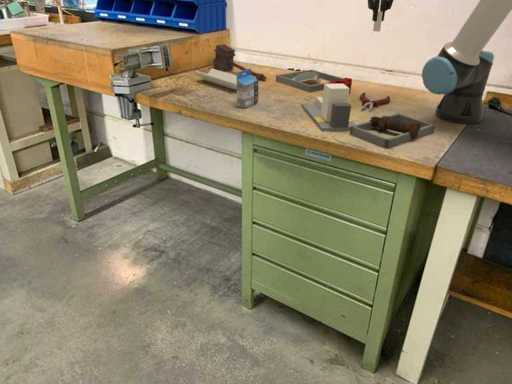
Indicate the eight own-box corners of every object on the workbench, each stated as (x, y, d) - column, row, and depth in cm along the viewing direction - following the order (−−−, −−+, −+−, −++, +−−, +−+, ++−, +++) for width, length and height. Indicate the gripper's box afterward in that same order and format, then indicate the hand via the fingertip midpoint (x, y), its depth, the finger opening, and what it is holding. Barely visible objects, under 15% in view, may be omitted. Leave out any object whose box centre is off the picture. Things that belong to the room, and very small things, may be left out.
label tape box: (245, 108, 148) (246, 74, 142) (235, 106, 150) (236, 72, 144) (258, 103, 155) (259, 69, 149) (249, 101, 157) (250, 67, 151)
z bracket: (211, 88, 187) (219, 76, 188) (249, 101, 172) (257, 88, 172) (195, 71, 178) (203, 59, 179) (234, 83, 162) (242, 70, 163)
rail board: (301, 106, 153) (303, 84, 149) (332, 105, 155) (335, 84, 151) (321, 131, 131) (324, 106, 127) (358, 130, 132) (362, 105, 129)
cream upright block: (320, 115, 140) (324, 83, 135) (338, 115, 141) (343, 83, 136) (326, 121, 135) (329, 88, 130) (344, 121, 136) (349, 88, 131)
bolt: (370, 131, 136) (415, 141, 128) (365, 127, 132) (411, 137, 124) (376, 114, 136) (422, 123, 127) (371, 109, 132) (418, 119, 123)
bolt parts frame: (433, 132, 133) (435, 124, 132) (386, 148, 120) (388, 140, 118) (396, 120, 142) (397, 113, 141) (349, 133, 129) (350, 126, 128)
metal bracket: (320, 67, 187) (316, 74, 174) (322, 80, 189) (319, 88, 176) (289, 73, 191) (283, 81, 178) (292, 86, 194) (286, 94, 181)
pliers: (349, 110, 151) (350, 103, 150) (361, 97, 167) (362, 91, 166) (381, 116, 147) (382, 109, 146) (390, 102, 163) (391, 95, 162)
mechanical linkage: (342, 98, 164) (344, 86, 162) (326, 95, 167) (327, 83, 165) (356, 90, 176) (357, 78, 174) (340, 87, 179) (341, 75, 177)
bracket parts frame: (346, 85, 182) (347, 79, 181) (310, 92, 170) (310, 86, 169) (311, 74, 197) (311, 69, 196) (275, 80, 185) (275, 75, 184)
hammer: (222, 63, 205) (225, 43, 199) (268, 90, 189) (272, 69, 183) (211, 65, 201) (214, 45, 195) (257, 93, 185) (261, 71, 179)
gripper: (399, -43, 143) (389, 30, 153) (363, -44, 141) (355, 30, 152) (409, -45, 137) (398, 32, 147) (372, -46, 135) (363, 32, 145)
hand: (376, 31), depth 149 cm, fingers closed
